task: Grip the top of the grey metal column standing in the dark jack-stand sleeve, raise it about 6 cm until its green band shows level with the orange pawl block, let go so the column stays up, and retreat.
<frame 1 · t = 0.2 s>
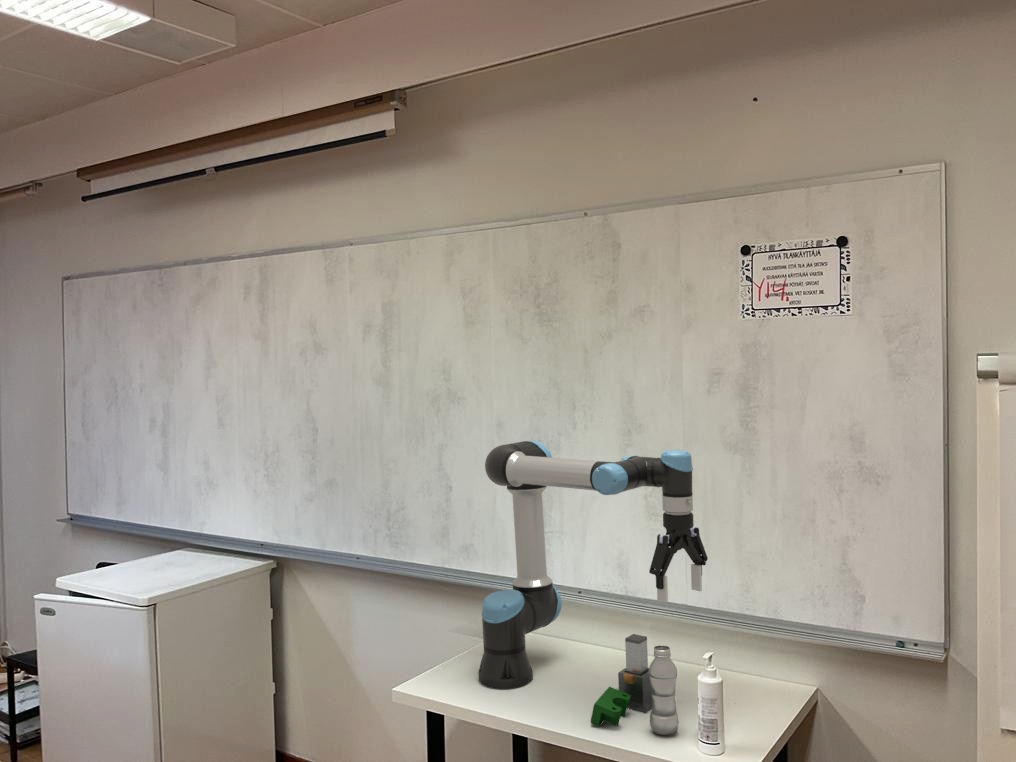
hand: (680, 595, 209), 27 cm above the table, tool pointing down, fingers open, 13 cm apart
plastic bottle: (664, 733, 193), on the table
column: (637, 666, 211), point 9 cm above the table, slide at 0.0 cm
clamp: (611, 720, 201), on the table
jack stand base: (638, 701, 211), on the table
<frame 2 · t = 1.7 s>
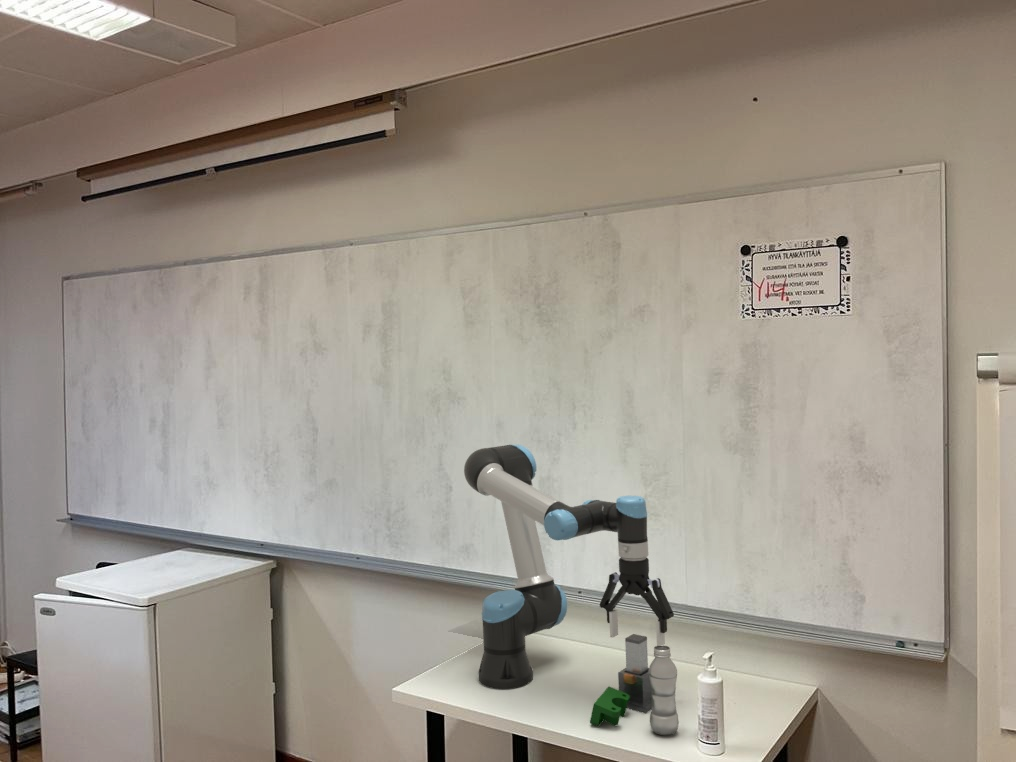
hand: (637, 640, 210), 16 cm above the table, tool pointing down, fingers open, 13 cm apart
nothing on the table moved.
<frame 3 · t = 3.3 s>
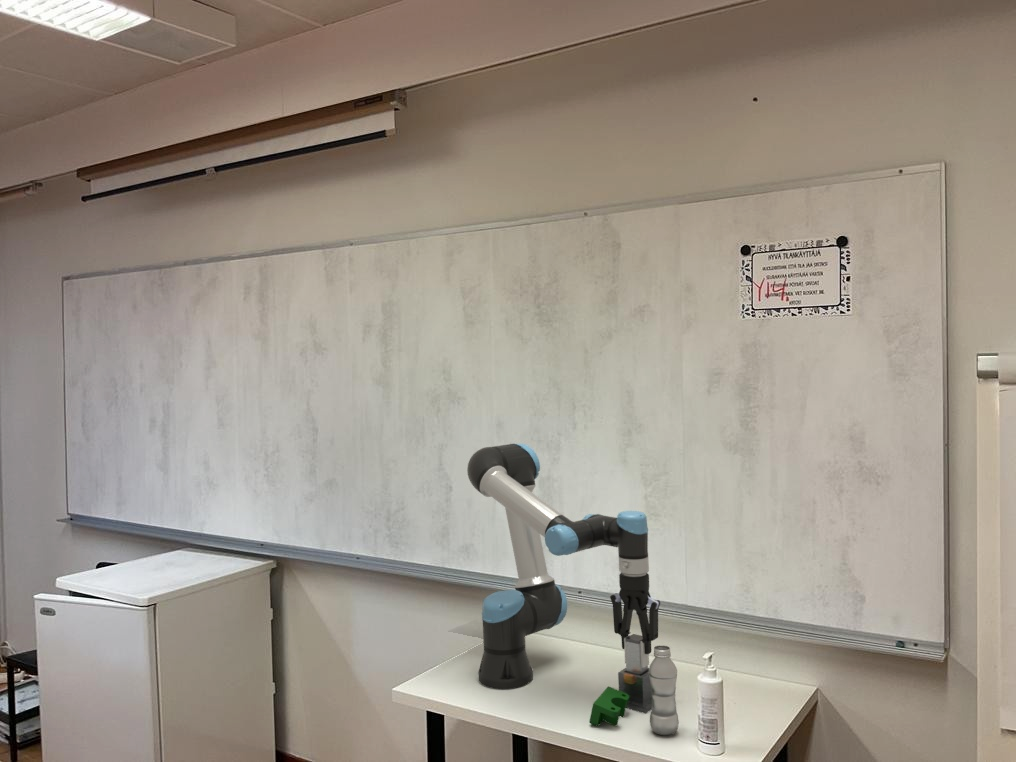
hand: (636, 663, 211), 10 cm above the table, tool pointing down, fingers closed on column, 4 cm apart
column: (637, 666, 211), point 9 cm above the table, slide at 0.0 cm, touching gripper
everything else where it was.
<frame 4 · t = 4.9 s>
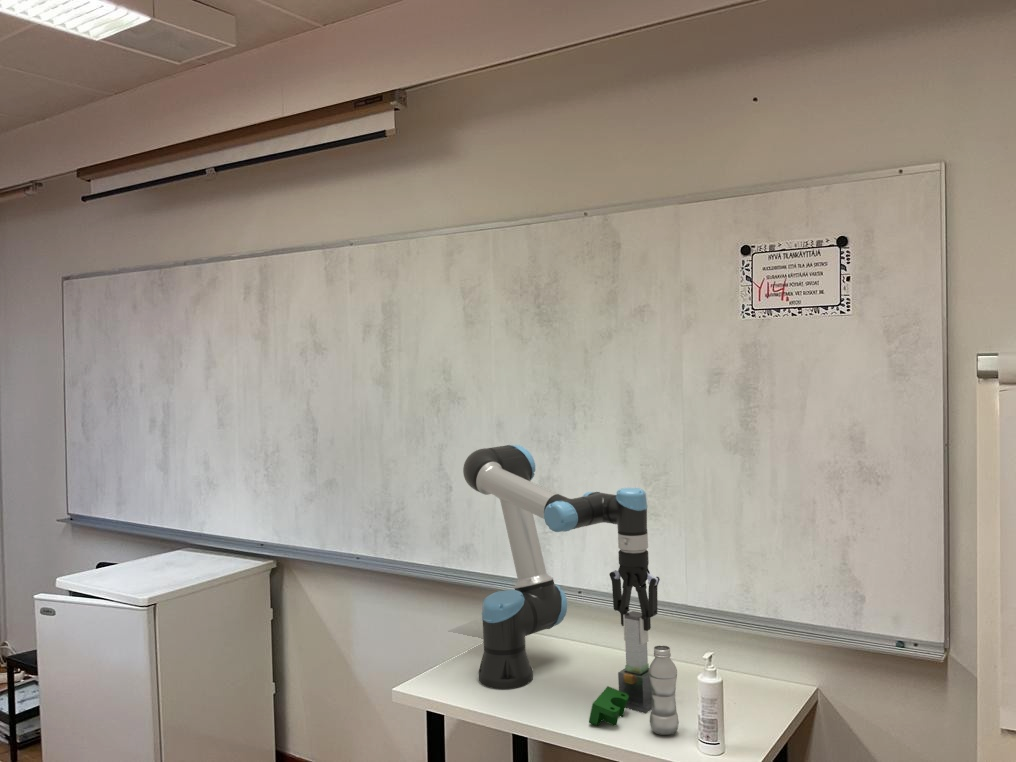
hand: (636, 640, 211), 16 cm above the table, tool pointing down, fingers closed on column, 4 cm apart
column: (636, 643, 211), point 15 cm above the table, slide at 6.0 cm, touching gripper
everything else where it was.
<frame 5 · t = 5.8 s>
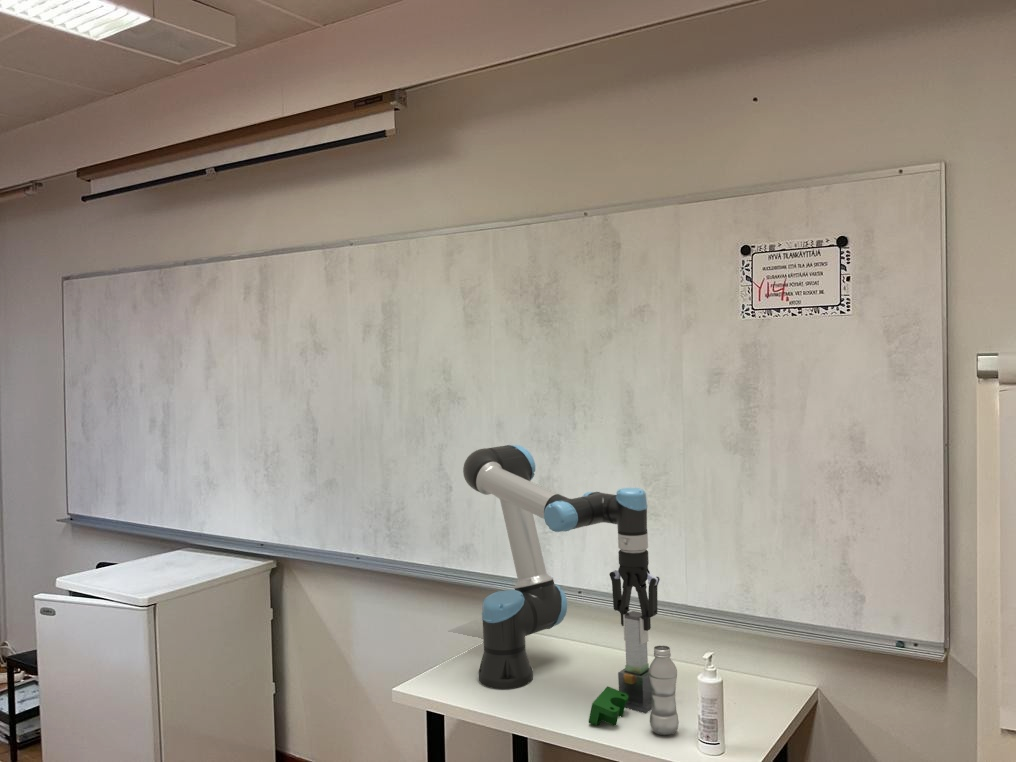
hand: (636, 640, 211), 16 cm above the table, tool pointing down, fingers closed on column, 4 cm apart
column: (636, 643, 211), point 15 cm above the table, slide at 6.0 cm, touching gripper
everything else where it was.
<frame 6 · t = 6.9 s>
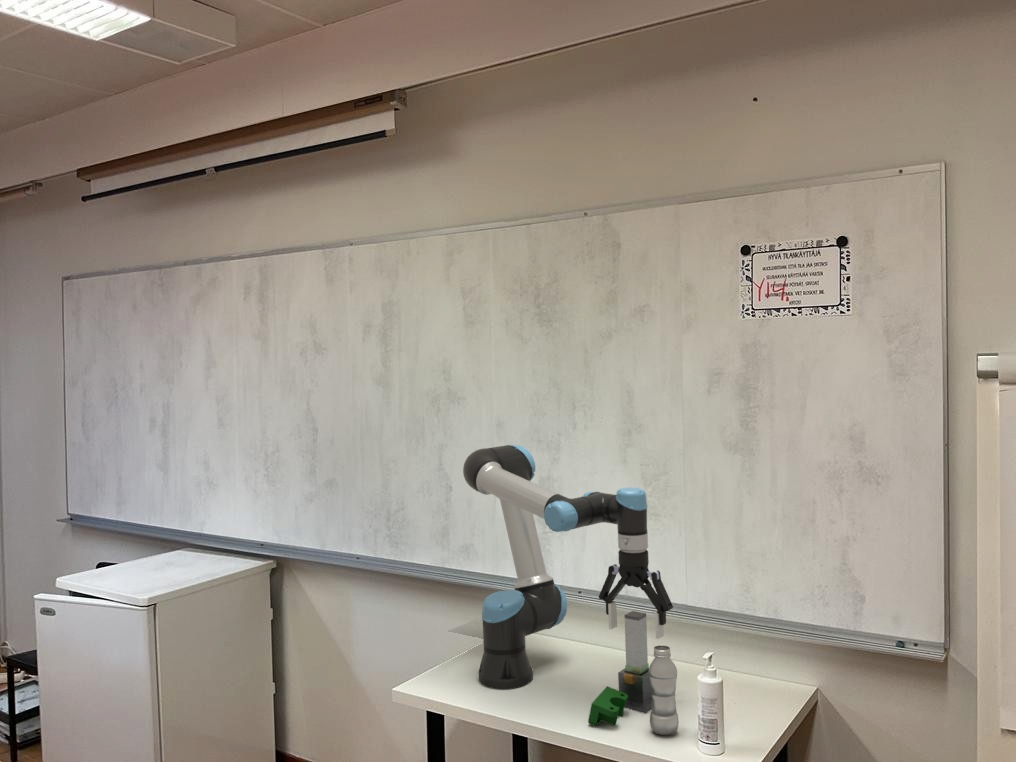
hand: (635, 632, 211), 18 cm above the table, tool pointing down, fingers open, 13 cm apart
column: (636, 643, 211), point 15 cm above the table, slide at 6.0 cm
everything else where it was.
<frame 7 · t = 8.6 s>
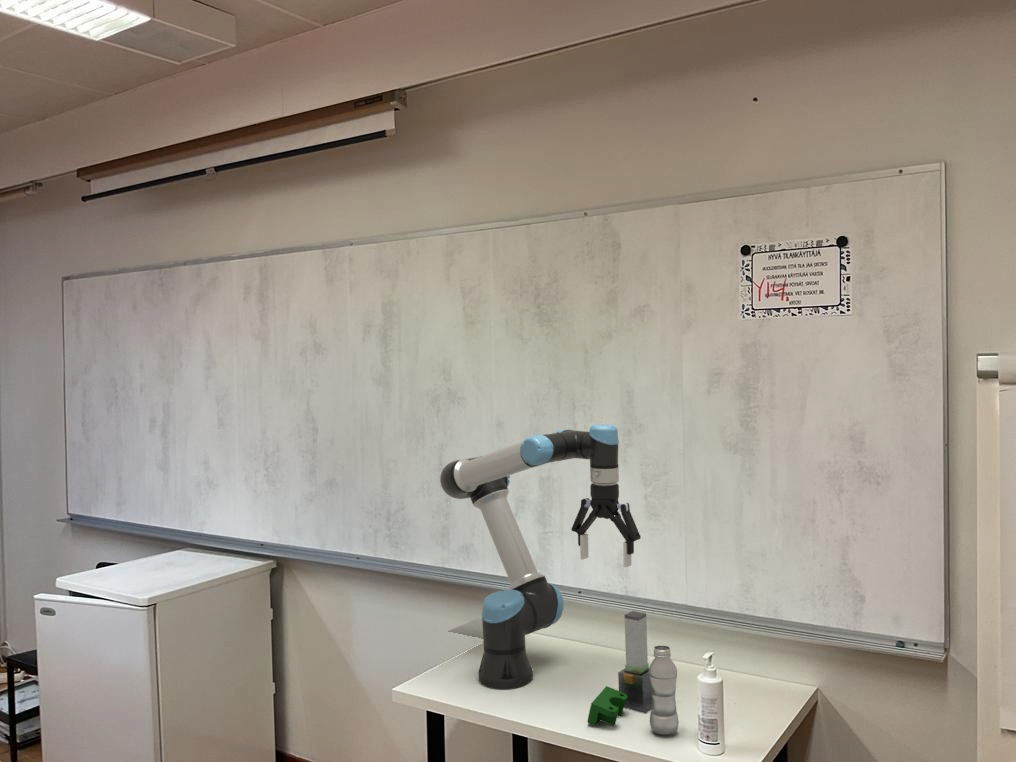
hand: (605, 562, 220), 34 cm above the table, tool pointing down, fingers open, 13 cm apart
nothing on the table moved.
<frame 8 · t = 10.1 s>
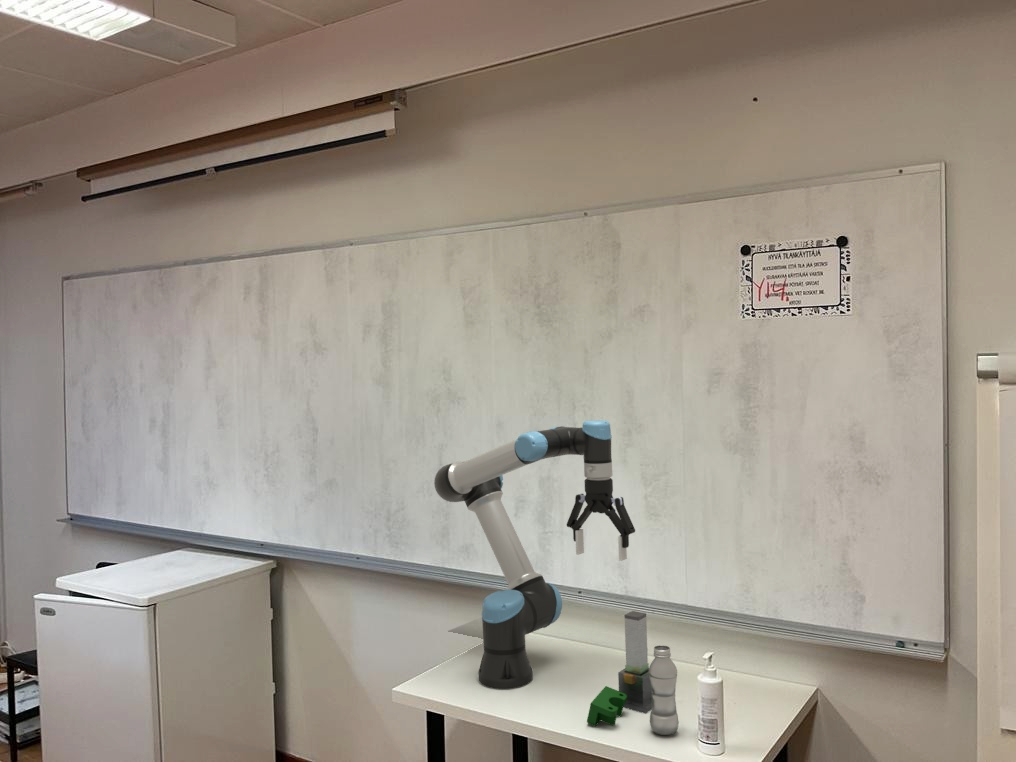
hand: (601, 556, 222), 35 cm above the table, tool pointing down, fingers open, 13 cm apart
nothing on the table moved.
at the end: column slide at 6.0 cm; the gripper is holding nothing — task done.
